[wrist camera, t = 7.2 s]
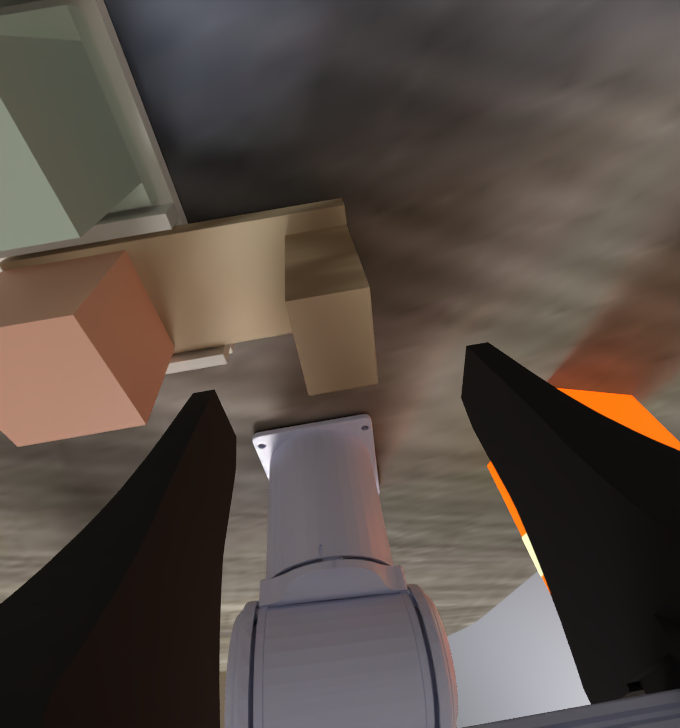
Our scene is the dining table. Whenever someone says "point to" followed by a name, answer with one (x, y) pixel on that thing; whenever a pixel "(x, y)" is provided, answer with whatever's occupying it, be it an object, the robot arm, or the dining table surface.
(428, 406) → the dining table surface
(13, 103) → the strip
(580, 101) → the dining table surface
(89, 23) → the lane board
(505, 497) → the orange juice
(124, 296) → the block
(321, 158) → the dining table surface
